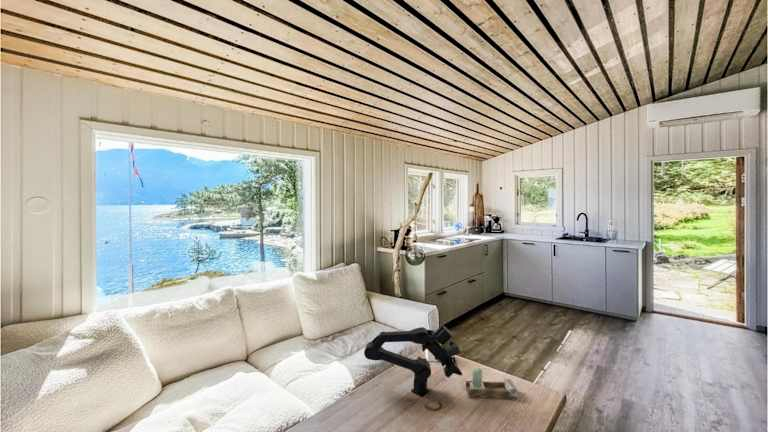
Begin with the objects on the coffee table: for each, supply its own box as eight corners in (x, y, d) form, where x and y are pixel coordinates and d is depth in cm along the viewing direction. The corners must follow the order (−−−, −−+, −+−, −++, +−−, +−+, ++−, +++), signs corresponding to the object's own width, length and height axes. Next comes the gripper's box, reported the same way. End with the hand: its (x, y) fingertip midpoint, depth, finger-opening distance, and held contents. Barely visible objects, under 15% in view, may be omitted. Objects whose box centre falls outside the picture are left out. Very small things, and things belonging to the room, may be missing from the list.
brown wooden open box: (468, 398, 143) (468, 387, 143) (465, 388, 151) (465, 377, 151) (516, 399, 142) (517, 388, 142) (511, 389, 150) (511, 379, 150)
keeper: (471, 392, 145) (471, 372, 145) (469, 386, 150) (469, 366, 150) (485, 392, 144) (485, 372, 144) (482, 386, 149) (482, 367, 149)
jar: (443, 361, 178) (442, 339, 178) (429, 362, 176) (429, 341, 176) (436, 354, 187) (436, 333, 187) (423, 355, 185) (423, 335, 185)
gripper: (452, 347, 138) (478, 373, 138) (447, 330, 157) (470, 353, 156) (434, 364, 139) (460, 390, 138) (431, 346, 158) (454, 369, 157)
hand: (461, 374), depth 147 cm, fingers closed
